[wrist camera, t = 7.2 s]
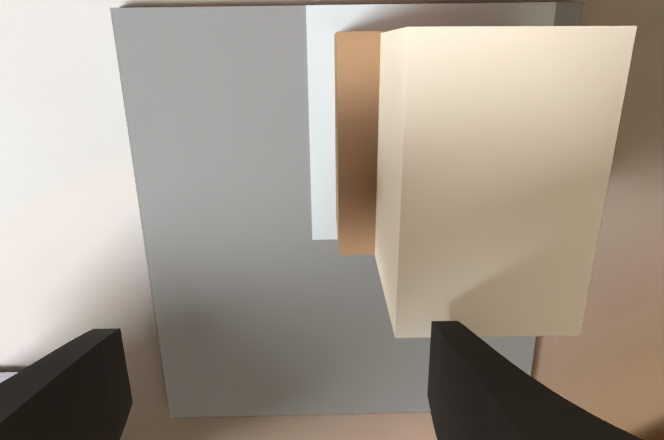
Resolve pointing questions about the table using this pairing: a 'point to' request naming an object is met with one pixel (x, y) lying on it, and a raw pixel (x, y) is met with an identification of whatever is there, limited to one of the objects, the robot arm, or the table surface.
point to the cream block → (495, 173)
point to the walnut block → (356, 138)
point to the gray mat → (268, 208)
